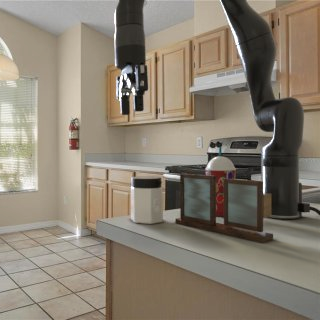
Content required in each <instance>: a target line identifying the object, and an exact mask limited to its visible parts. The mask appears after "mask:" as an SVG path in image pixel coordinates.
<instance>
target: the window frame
mask: <svg viewBox="0 0 320 320" xmlns="http://www.w3.org/2000/svg"><path fill="white" fill-rule="evenodd" d="M179 185H180V186H179V197H180V198H179V199H180V200H179V201H180V202H179V203H180V204H179V205H180V206H179V207H180V208H179V209H180V211H179V212H180V214H179V215H180V216H179V217H177V218H175V224H178V225H182V226H187V227H191V228H196V229H199V230H203V231H208V232H213V233H217V234H222V235H226V236H231V237H235V238H240V239H245V240H248V241H253V242H256V243H261V244H264V243H266V242H269V241H272V240H274V234H273V233H271V232H266V231H263V232H257V231H252V230H247V229H242V228H237V227H232V226H228V225H224V223H220V222H217V216H216V176H213V175H206V174H196V173H195V174H194V173H179Z"/></svg>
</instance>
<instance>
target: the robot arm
mask: <svg viewBox="0 0 320 320" xmlns="http://www.w3.org/2000/svg"><path fill="white" fill-rule="evenodd" d="M145 2H146V0H118V2H117V5H116V7H115V10H114V29H115V30H114V42H113V43H114V66H115V68H116V69H118V70H121V74H120V76H116V78H115V79H116V81H115V82H116V83H115V84H116V88H115V89H116V100H119V101H120V115H121V116H129V115H130V113H131V110H130V97H131V94H133V111H134V112H144V107H145V105H144V96H145V94H146V92H148V90H149V79H148V78H149V75H148V65H147V63H146V62H147V61H146V60H147V59H146V58H147V57H146V55H147V54H146V34H145V27H144V26H145V23H144V22H145V21H144V20H145V19H144V7H145ZM219 2H220V5H221V7H222V9H223V11H224V15H225V17H226V20H227V22H228V25H229V28H230V32H231V35H232V38H233V41H234V45H235V50H236V52H237V55H238V58H239V61H240V64H241V66H242V70H243V73H244V77H245V82H246V84H247V89H248V92H249V97H250V103H251V109H252V113H253V114H252V115H253V117H254V121H255V123H256V125H257V127H258V129H259V130H261V131H262V132H265V133H273V135H272V138H271V140H270V141H269V142H267V143H265V144H264V145H262V146H261V148H260V181H263V194H265V193H267V194H271V216H270V217H269V218H270V219H279V220H296V219H299V218H302V217H303V213H305V214H306V213H310V212H311V211H312V212H315V213H316V214H317V215H318V216H320V209H318V208H317V207H313V206H312V205H311V203H308V202H303V184H302V182H300V150H301V148H302V145H303V141H304V140H303V139H304V124H305V113H304V112H305V111H304V107H303V105H302V103H301V101H299V99H297V98H296V97H292V96H291V97H281V98H276V96H275V93H274V89H273V85H272V76H273V71H274V67H275V63H276V59H277V45H276V42H275V41H276V40H275V37H274V34H273V31H272V28H271V25H270V24H269V22H268V21H267V20H266V19H265V18H264V17H263V16H262V15H260V13H258V12H257V11H256V10H255V9H254V8H253V7H252V6H251V5H250V4H249V2H248V1H247V0H219Z"/></svg>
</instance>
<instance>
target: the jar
mask: <svg viewBox="0 0 320 320" xmlns="http://www.w3.org/2000/svg"><path fill="white" fill-rule="evenodd" d="M130 179H131V186H130V219H131V220H132V221H133V222H134V224H135V223H136V224H144V225H145V224H146V225H153V224H159V223H163V222H164V188H163V186H162V182H163V181H162V177H161V176H154V175H153V176H151V175H143V176H142V175H139V176H132V177H131V178H130Z"/></svg>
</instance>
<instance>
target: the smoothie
mask: <svg viewBox="0 0 320 320" xmlns="http://www.w3.org/2000/svg"><path fill="white" fill-rule="evenodd" d="M222 152H223V151H222V146H218V155H217V156H215V157H213V158H211V159H210V160H209V161H208V163H207V165H206V167H205V168H204V169H205V175H213V176H216V217H224V179H236V172H237V171H236V170H237V168H236V167H235V165H234V163H233V162H232V160H231V159H230V158H229V157H225V156H222V155H223V154H222Z"/></svg>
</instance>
